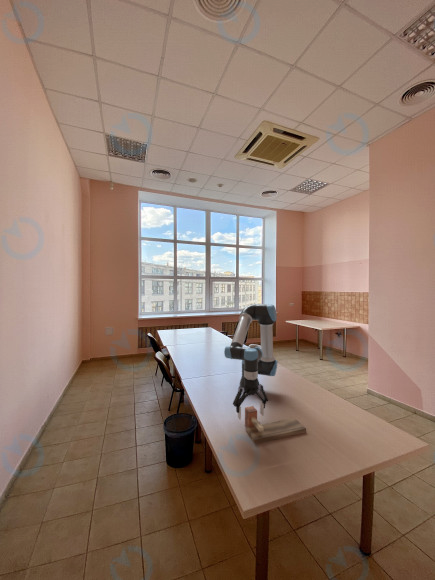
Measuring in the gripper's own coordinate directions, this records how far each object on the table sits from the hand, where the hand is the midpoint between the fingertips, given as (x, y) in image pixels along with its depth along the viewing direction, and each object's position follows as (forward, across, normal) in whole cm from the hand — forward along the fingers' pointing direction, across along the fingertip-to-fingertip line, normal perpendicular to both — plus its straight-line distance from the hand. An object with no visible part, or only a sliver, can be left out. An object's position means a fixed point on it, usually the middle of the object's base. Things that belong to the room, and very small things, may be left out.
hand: (250, 416), depth 127 cm
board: (+6, +11, -8) cm, 15 cm away
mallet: (+6, 0, -5) cm, 8 cm away
